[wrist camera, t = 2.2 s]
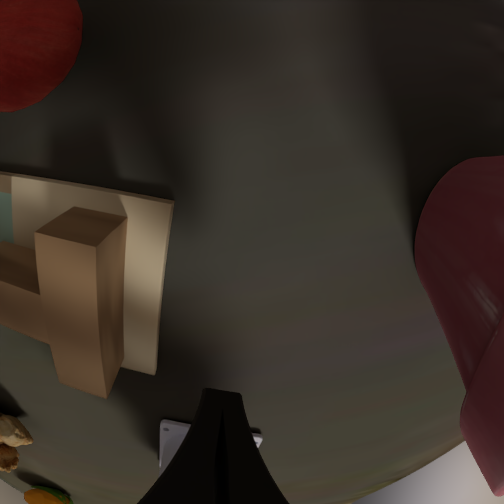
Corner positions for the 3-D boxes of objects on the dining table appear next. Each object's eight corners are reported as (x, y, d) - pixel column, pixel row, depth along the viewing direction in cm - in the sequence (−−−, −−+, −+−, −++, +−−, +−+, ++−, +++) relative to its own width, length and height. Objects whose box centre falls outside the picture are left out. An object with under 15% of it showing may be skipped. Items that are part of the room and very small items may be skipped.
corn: (79, 533, 27) (36, 518, 31) (89, 502, 35) (45, 495, 38) (45, 513, 25) (9, 500, 29) (58, 482, 32) (20, 477, 36)
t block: (124, 357, 17) (107, 399, 14) (17, 320, 16) (-9, 351, 13) (128, 216, 13) (96, 247, 10) (0, 191, 12) (-41, 211, 9)
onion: (10, 103, 11) (-103, 121, 4) (41, 6, 9) (-60, -25, 1) (91, 116, 12) (-36, 131, 5) (129, 5, 10) (36, -67, 2)
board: (156, 368, 18) (154, 375, 17) (-43, 295, 16) (-47, 298, 15) (174, 200, 14) (171, 204, 13) (-61, 163, 12) (-67, 165, 11)
